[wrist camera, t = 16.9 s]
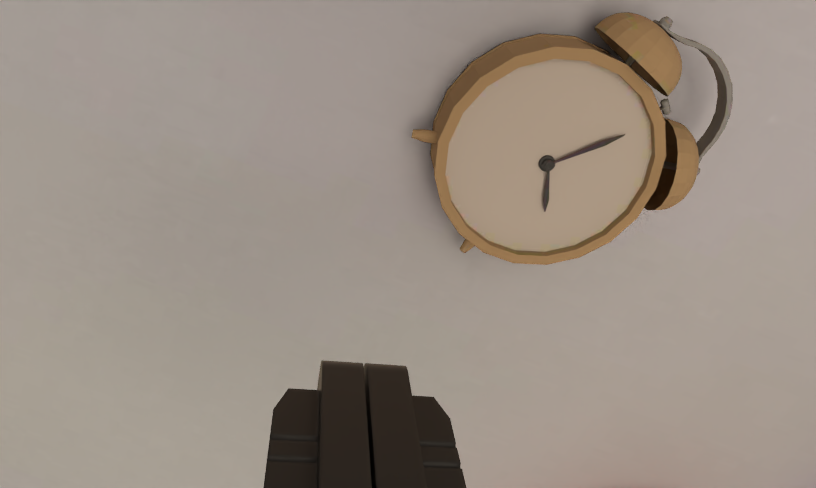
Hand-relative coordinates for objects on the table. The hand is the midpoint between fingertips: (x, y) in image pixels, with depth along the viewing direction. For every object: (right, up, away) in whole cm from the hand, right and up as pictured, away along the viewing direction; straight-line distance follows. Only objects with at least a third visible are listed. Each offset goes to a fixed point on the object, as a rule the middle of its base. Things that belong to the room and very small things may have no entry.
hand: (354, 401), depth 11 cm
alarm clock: (+9, +9, +22) cm, 25 cm away
